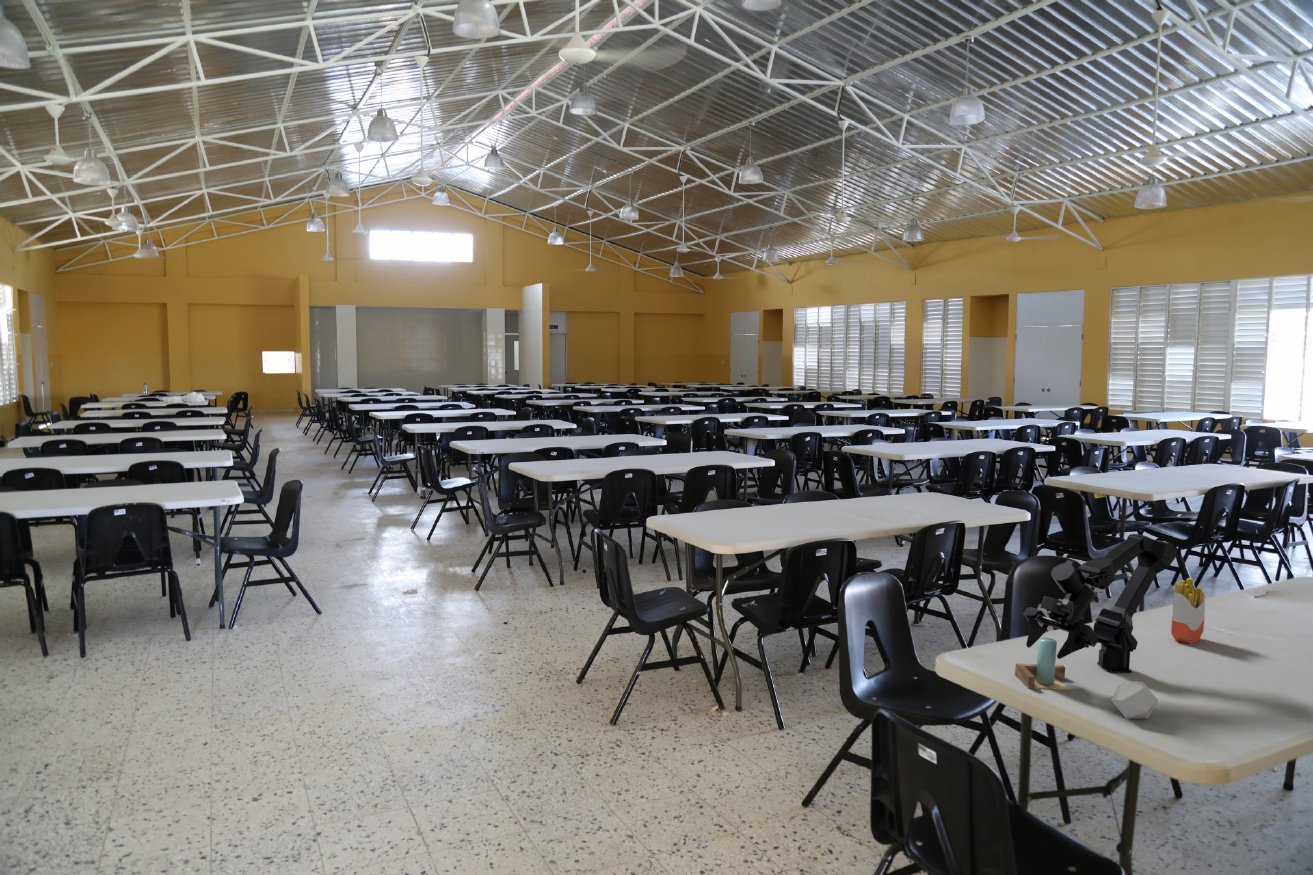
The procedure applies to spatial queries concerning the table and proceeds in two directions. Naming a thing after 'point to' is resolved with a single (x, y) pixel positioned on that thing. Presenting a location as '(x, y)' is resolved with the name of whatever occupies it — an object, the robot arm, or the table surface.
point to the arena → (1029, 676)
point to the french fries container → (1188, 612)
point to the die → (1134, 700)
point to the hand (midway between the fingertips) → (1042, 652)
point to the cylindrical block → (1046, 661)
